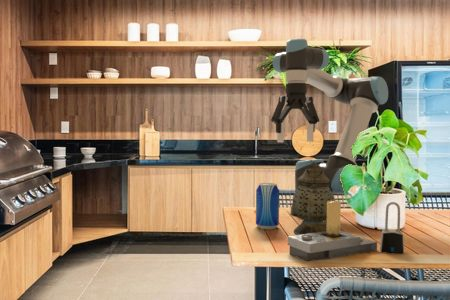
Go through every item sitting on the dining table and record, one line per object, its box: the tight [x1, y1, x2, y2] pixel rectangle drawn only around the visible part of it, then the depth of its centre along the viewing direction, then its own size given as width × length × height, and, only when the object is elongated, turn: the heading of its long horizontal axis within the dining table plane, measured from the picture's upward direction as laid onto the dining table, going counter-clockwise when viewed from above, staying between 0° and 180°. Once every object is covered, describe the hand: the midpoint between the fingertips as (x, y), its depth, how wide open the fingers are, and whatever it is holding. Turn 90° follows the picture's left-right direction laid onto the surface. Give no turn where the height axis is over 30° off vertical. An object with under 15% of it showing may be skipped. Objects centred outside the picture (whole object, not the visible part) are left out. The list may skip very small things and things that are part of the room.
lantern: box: [292, 162, 336, 235], centre depth 159 cm, size 14×14×25 cm
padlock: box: [379, 201, 405, 255], centre depth 137 cm, size 7×4×15 cm, turn 75°
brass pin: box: [325, 200, 342, 238], centre depth 136 cm, size 4×4×15 cm
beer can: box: [255, 182, 280, 230], centre depth 168 cm, size 8×8×16 cm
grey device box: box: [287, 230, 378, 262], centre depth 136 cm, size 26×10×6 cm, turn 119°
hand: (295, 142), depth 166 cm, fingers open, 13 cm apart
